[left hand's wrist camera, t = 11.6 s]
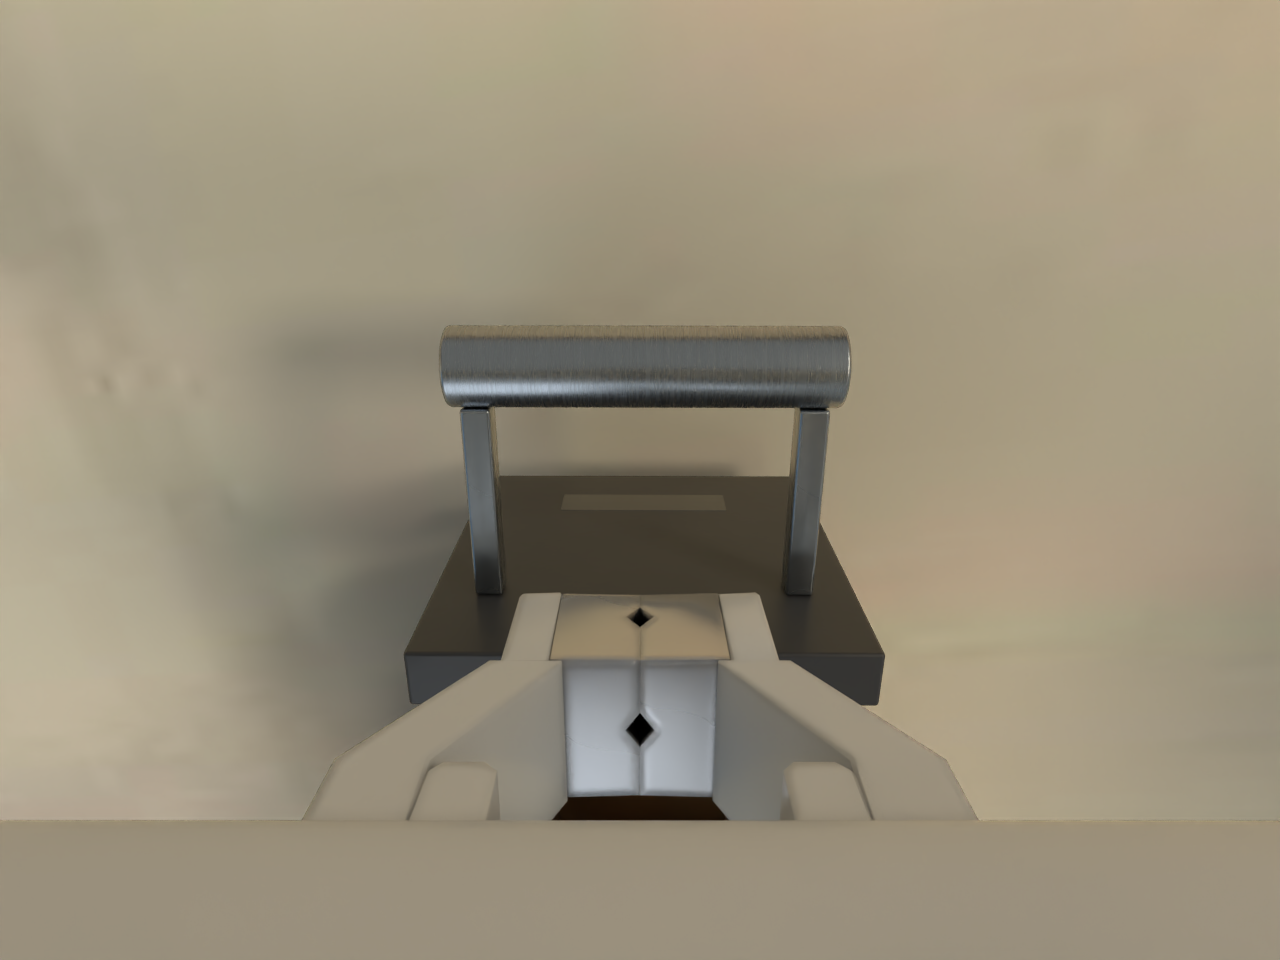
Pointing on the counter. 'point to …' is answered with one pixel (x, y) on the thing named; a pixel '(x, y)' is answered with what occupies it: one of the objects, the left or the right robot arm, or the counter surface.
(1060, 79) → the counter surface
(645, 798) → the drawer
